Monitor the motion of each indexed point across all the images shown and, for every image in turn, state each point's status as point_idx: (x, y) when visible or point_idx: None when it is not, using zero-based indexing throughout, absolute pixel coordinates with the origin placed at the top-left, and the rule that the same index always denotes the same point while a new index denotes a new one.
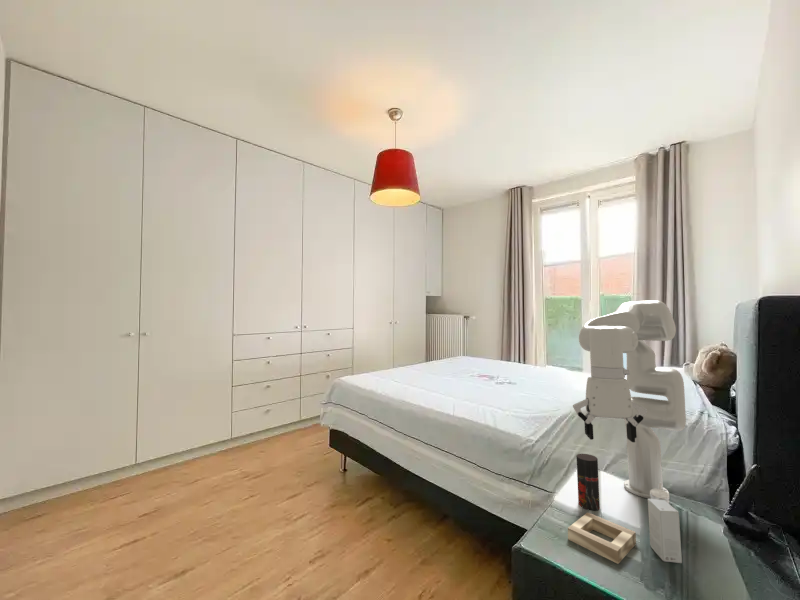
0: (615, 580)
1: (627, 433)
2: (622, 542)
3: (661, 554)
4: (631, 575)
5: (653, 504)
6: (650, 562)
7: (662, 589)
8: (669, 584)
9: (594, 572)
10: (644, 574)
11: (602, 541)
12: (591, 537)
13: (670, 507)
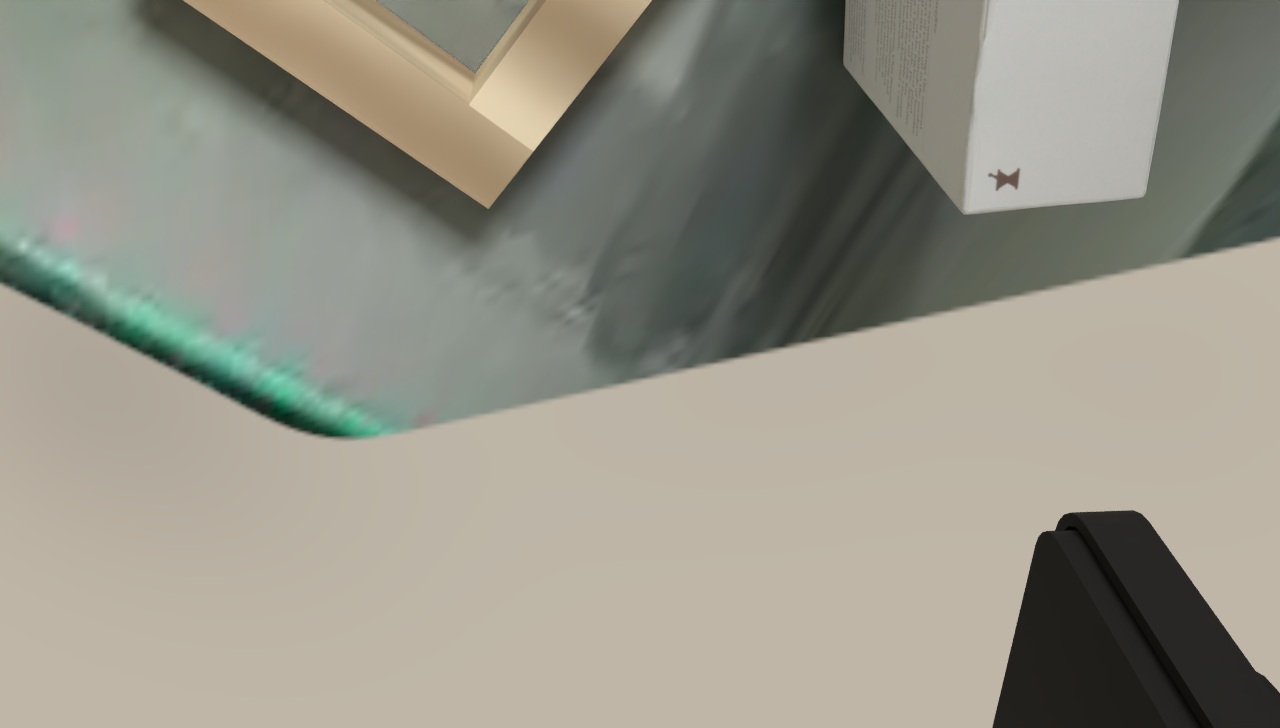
0: (427, 333)
1: (1099, 693)
2: (567, 81)
3: (851, 57)
4: (546, 265)
5: (974, 79)
6: (740, 93)
7: (685, 342)
8: (752, 291)
9: (308, 293)
10: (636, 235)
11: (399, 104)
12: (314, 65)
13: (1125, 118)
